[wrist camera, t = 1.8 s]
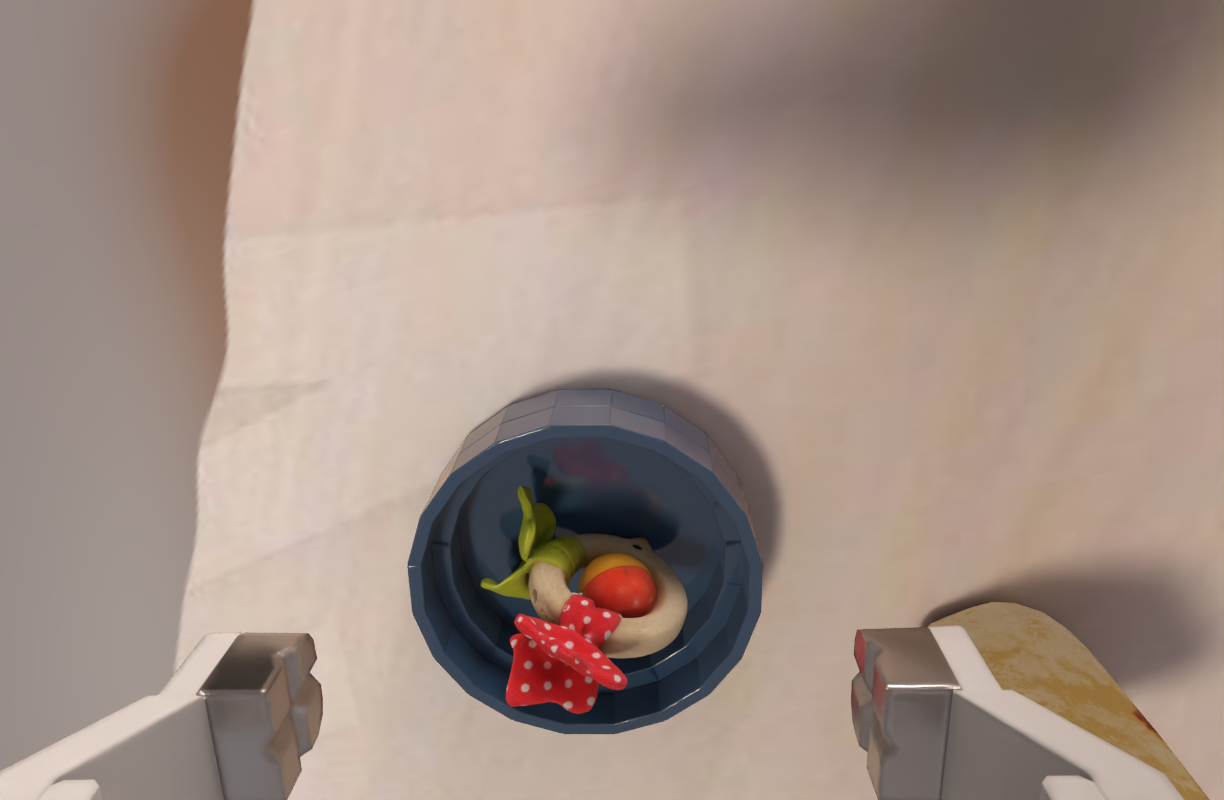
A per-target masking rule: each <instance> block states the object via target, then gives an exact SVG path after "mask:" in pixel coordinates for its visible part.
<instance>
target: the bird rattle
mask: <svg viewBox="0 0 1224 800" xmlns="http://www.w3.org/2000/svg"><path fill="white" fill-rule="evenodd" d="M518 498H519V501H520V503H521V507H522V510H523V520H522V525H521V530H520V534H519V540H518V543H519V551H520V555H521V558H522V559H523V560H522V562H521V564H520V566H519V568H518V569H517V570H516V571H515V572H514V573H513V574H512V575H510V576H509V577H508V578H506V579H505V580H504V581H502V582H501V583H500V584H499V583H497V582H495V581H494V580H492V579H490V578H484V579H482V581H481V587H483V588H485V589H488V590H491V591H493V592H496V593H498V594H501V595H504V596H508V597H517V598H524V599H528V600H531V602H532V604H533V606H534V609H535V611H536V612H537V614H538V616H539V617H540V619H538V618H534V617H530V616H526V615H524V614H519V615H517V617H516V618H515V620H514V624H515V626H516V627H517V629H518V630H519V631H520V632H521V633H520V634H516V635H514V636H512V637H511V638H510V645H511V646H512V648H513V651H514V655H513V663H512V668H511V673H510V677H509V680H508V685H507V689H506V701H507V703H508V705H509V706H511V707H516V706H527V705H533V704H541V703H546V702H553V703H557V704H559V705H561V706H563V707H564V708H565V709H566V710H568V711H570V712H572V713H575V714H581V713H585V712H588V711H589V710H591V708H592V707H593V705H594V703H595V701H596V698H597V694H598V687H599V683H600V684H601V685H603V686H605V687H607V688H610V689H613V690H622V689H624V688H625V687H626V685H627V678H626V676H625V675H624V674H623V673H622V672H621V670H620V669H619V668H618V667H617V666H615V665H614V664H613V663H612V661H611V660H610V659H609V658H635V657H641V656H646V655H649V654H652V653H655V652H657V651H659V650H661V649H663V648H664V647H666V646H667V645H669V644H670V643H671V642H672V641H673V640H674V639H675V638H676V637H677V635H678V634H679V632H680V630H681V628H682V626H683V624H684V621H685V618H686V615H687V608H688V601H687V596H686V592H685V589H684V587H683V585H682V583H681V581H680V579H679V578H678V576H677V575H676V573H675V572H674V571H673V569H672V568H671V567H670V566H669V565H668V564H667V563H666V562H665V561H664V560H663V559H662V558H660V557H659V556H658V555H656V554H655V553H654V552H653V550H652V548H651V546H650V543H649V542H648V540H647V539H646V538H641V537H638V538H632V539H627V538H622V537H619V536H613V535H607V534H577V535H572V536H566V535H562V536H559V537H557V538H556V539H552V537H553V536H554V532H555V527H556V518H555V516H554V513H553V512H552V510H551V509H550V508H549V507H548V506H547V505H546V504H544V503H535V504H534V503H533V495H532V490H531V488H530V487H526V486H519V488H518ZM580 569H584V571H583V573H582V575H581V577H580V581H579V585H578V593H571V592H570V590H569V589H568V588H567V586H568V585H569V583H570V580H571V578H572V577H573V576H574V574H575V573H576V572H578V571H579V570H580ZM608 657H609V658H608Z"/></svg>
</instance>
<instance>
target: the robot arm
mask: <svg viewBox="0 0 1224 800" xmlns="http://www.w3.org/2000/svg"><path fill="white" fill-rule="evenodd" d="M854 656H855V659H856V662H857V664H858V667H859V670H860V672H859V673H858V674H857V675H856V676H855V677H854V679H853V680H852V692H851V705H852V720H853V724H854V729H855V734H856V737H857V740H858V743H859V746H860V747H862V748H863V749H864V750H866V751H867V752H868V756H867V770H868V773H869V775H870V778H871V781H872V784H873V787H874V790H875V793H876V795H877V798H878V800H1184V799H1183V797H1182V796H1181V795H1180V794H1179V792H1178V791H1177V790H1176V788H1175V787H1174V786H1173V784H1172V783H1171V782H1170V781H1169V779H1168V778H1167V777H1166V775H1165V774H1164V773H1162V772H1160V771H1159V770H1157V769H1155V768H1153V767H1151V766H1150V765H1148V764H1146V763H1144V762H1142V761H1140V760H1139V759H1137V758H1135V757H1133V756H1131V755H1130V754H1128V753H1126V752H1124V751H1122V750H1120V749H1119V748H1117V747H1115V746H1113V745H1111V744H1110V743H1108V742H1106V741H1104V740H1102V739H1100V738H1099V737H1097V736H1095V735H1093V734H1091V733H1090V732H1088V731H1086V730H1084V729H1082V728H1081V727H1079V726H1077V725H1075V724H1073V723H1071V722H1070V721H1068V720H1066V719H1064V718H1062V717H1061V716H1059V715H1057V714H1055V713H1053V712H1051V711H1050V710H1048V709H1046V708H1044V707H1042V706H1041V705H1039V704H1037V703H1035V702H1033V701H1032V700H1030V699H1028V698H1026V697H1024V696H1022V695H1021V694H1019V693H1017V692H1015V691H1013V690H1002V689H1001V687H1000V685H999V684H998V682H997V680H996V679H995V677H994V676H993V674H992V672H991V671H990V669H989V668H988V666H987V664H986V663H985V661H984V660H983V658H982V656H981V655H980V653H979V652H978V650H977V648H976V647H975V645H974V643H973V642H972V640H971V639H970V637H969V635H968V634H967V632H966V631H965V629H964V628H962V627H961V626H938V627H920V628H890V629H861V630H857V633H856V637H855V645H854ZM316 659H317V656H316V651H315V645H314V640H313V638H312V637H311V636H310V635H309V634H308V633H241V632H229V633H211V634H207V635H205V636H204V637H203V638H202V640H201V641H200V642H199V643H198V645H197V646H196V647H195V649H194V650H193V651H192V652H191V654H190V655H189V656H188V657H187V659H186V660H185V661H184V663H183V664H182V665H181V666H180V668H179V669H178V670H177V671H176V673H175V674H174V675H173V676H172V678H171V679H170V680H169V682H168V683H167V684H166V685H165V687H164V688H163V689H162V690H161V692H160V693H159V694H158V696H146V697H144V698H142V699H140V700H138V701H136V702H134V703H133V704H130V705H129V706H127V707H125V708H123V709H121V710H119V711H117V712H115V713H113V714H111V715H109V716H107V717H105V718H103V719H101V720H99V721H97V722H96V723H94V724H91V725H90V726H87V727H86V728H84V729H82V730H80V731H78V732H76V733H74V734H72V735H70V736H68V737H66V738H64V739H62V740H60V741H58V742H56V743H54V744H52V745H50V746H48V747H46V748H45V749H43V750H41V751H39V752H37V753H35V754H33V755H31V756H29V757H27V758H25V759H23V760H21V761H19V762H17V763H15V764H14V765H11V766H9V767H7V768H5V769H3V770H1V771H0V800H287V799H288V797H289V795H290V793H291V791H292V789H293V787H294V785H295V783H296V781H297V779H298V777H299V775H300V773H301V771H302V768H301V762H300V757H301V756H302V755H303V754H305V753H306V752H308V751H309V750H311V749H312V748H313V746H314V743H315V741H316V739H317V737H318V735H319V730H320V725H321V720H322V715H323V697H322V690H321V684H320V683H319V682H318V681H317V680H316V679H315V678H314V677H313V676H312V674H311V673H310V671H311V669H312V667H313V665H314V663H315V661H316Z"/></svg>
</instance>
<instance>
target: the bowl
mask: <svg viewBox="0 0 1224 800" xmlns="http://www.w3.org/2000/svg"><path fill="white" fill-rule="evenodd" d="M519 486H526V487H530V488H531V490H532V495H533V503H534V504H535V503H544V504H546V505H547V506H548V507H549V508H550V509H551V510H552V512H553V513H554V516H555V518H556V527H555V532H554V536H553V537H552V539H556V538H557V537H559V536H562V535H566V536H572V535H577V534H607V535H613V536H619V537H622V538H627V539H632V538H638V537H641V538H646V539H647V540H648V542H649V543H650V546H651V548H652V550H653V552H654V553H655V554H656V555H658V556H659V557H660V558H662V559H663V560H664V561H665V562H666V563H667V564H668V565H669V566H670V567H671V568H672V569H673V571H674V572H675V573H676V575H677V576H678V578H679V579H680V581H681V583H682V585H683V587H684V589H685V592H686V596H687V601H688V608H687V615H686V618H685V621H684V624H683V626H682V628H681V630H680V632H679V634H678V635H677V637H676V638H675V639H674V640H673V641H672V642H671V643H670V644H669V645H667V646H666V647H664V648H663V649H661V650H659V651H657V652H655V653H652V654H649V655H646V656H641V657H635V658H609V657H608V658H609V659H610V660H611V661H612V663H613V664H614V665H615V666H617V667H618V668H619V669H620V670H621V672H622V673H623V674H624V675H625V676H626V678H627V685H626V687H625V688H624V689H622V690H613V689H610V688H607V687H605V686H603V685H601V684H600V683H599V687H598V694H597V698H596V701H595V703H594V705H593V707H592V708H591V710H589V711H588V712H585V713H581V714H575V713H572V712H570V711H568V710H566V709H565V708H564V707H563V706H561V705H559V704H557V703H553V702H546V703H541V704H533V705H527V706H516V707H511V706H509V705H508V703H507V701H506V689H507V685H508V680H509V677H510V673H511V668H512V663H513V655H514V651H513V648H512V646H511V645H510V638H511V637H512V636H514V635H516V634H520V633H521V632H520V631H519V630H518V629H517V627H516V626H515V624H514V620H515V618H516V617H517V615H519V614H524V615H526V616H530V617H534V618H538V619H540V617H539V616H538V614H537V612H536V611H535V609H534V606H533V604H532V602H531V600H528V599H524V598H517V597H508V596H504V595H501V594H498V593H496V592H493V591H491V590H488V589H485V588H483V587H481V581H482V579H484V578H490V579H492V580H494V581H495V582H497V583H499V584H500V583H501V582H502V581H504V580H505V579H506V578H508V577H509V576H510V575H512V574H513V573H514V572H515V571H516V570H517V569H518V568H519V566H520V564H521V562H522V560H523V559H522V558H521V555H520V551H519V543H518V540H519V534H520V530H521V525H522V520H523V510H522V507H521V503H520V501H519V498H518V488H519ZM583 571H584V569H580V570H579V571H578V572H576V573H575V574H574V576H573V577H572V578H571V580H570V583H569V585H568V586H567V588H568V589H569V590H570V592H571V593H578V585H579V581H580V577H581V575H582V573H583ZM408 576H409V585H410V595H411V605H412V613H413V616H414V618H415V620H416V622H417V624H418V626H419V628H420V630H421V632H422V634H423V637H424V639H425V641H426V643H427V645H428V647H429V649H430V651H431V653H432V655H433V657H434V659H435V660H436V661H437V662H438V663H439V664H440V665H441V666H442V667H443V668H444V669H445V670H446V671H447V673H448V674H449V675H450V676H451V677H452V678H453V679H454V680H455V681H456V682H457V683H458V684H459V685H460V686H461V687H462V688H463V689H464V690H465V692H466V693H467V694H469V695H470V696H472V697H473V698H475V699H477V700H479V701H480V702H482V703H484V704H486V705H487V706H489V707H491V708H492V709H494V710H496V711H498V712H499V713H501V714H503V715H504V716H506V717H508V718H510V719H511V720H514V721H517V722H521V723H524V724H528V725H532V726H536V727H539V728H543V729H547V730H551V731H554V732H558V733H564V734H615V733H616V734H617V733H621V732H625V731H629V730H633V729H636V728H640V727H644V726H648V725H651V724H655V723H659V722H663V721H665V720H668V719H669V718H671V717H673V716H674V715H676V714H678V713H679V712H681V711H683V710H684V709H686V708H688V707H689V706H691V705H693V704H694V703H696V702H698V701H699V700H701V699H703V698H705V697H706V696H708V694H710V693H711V692H712V691H713V690H714V689H715V688H716V687H717V686H718V684H719V683H720V682H721V681H722V680H723V679H724V678H725V677H726V675H727V674H728V673H729V672H730V671H731V670H732V669H733V668H734V667H735V665H736V664H737V663H738V662H739V661H740V660H741V658H742V657H743V654H744V652H745V650H746V647H747V645H748V642H749V640H750V638H751V635H752V633H753V630H754V628H755V626H756V623H757V621H758V619H759V616H760V613H761V600H762V576H763V563H762V558H761V554H760V551H759V547H758V543H757V539H756V535H755V531H754V527H753V523H752V519H751V515H750V512H749V509H748V506H747V503H746V500H745V497H744V494H743V491H742V488H741V485H740V481H739V478H738V475H737V473H736V471H735V470H734V469H733V467H732V466H731V465H730V463H729V462H728V461H727V459H726V458H725V457H724V456H723V454H722V453H721V452H720V450H719V449H718V448H717V446H716V445H715V444H714V443H713V441H712V440H711V439H710V437H709V436H708V435H707V434H705V432H703V431H702V430H700V429H699V428H697V427H696V426H694V425H693V424H691V423H690V422H688V421H687V420H686V419H684V418H683V417H681V416H680V415H678V414H677V413H675V412H674V411H672V410H671V409H669V408H668V407H666V406H663V404H660V403H657V402H653V401H650V400H647V399H643V398H640V397H637V396H633V395H630V394H627V393H623V392H620V391H616V390H611V389H588V390H556V391H553V392H550V393H546V394H543V395H540V396H537V397H534V398H531V399H528V400H525V401H521V402H518V403H515V404H512V405H510V406H507V407H506V408H505V409H503V410H502V411H500V412H499V413H498V414H496V415H495V416H494V417H492V418H491V419H489V420H488V421H487V422H485V423H484V424H482V425H481V426H480V427H478V428H477V429H476V430H474V431H473V432H471V433H470V434H469V435H468V436H467V437H466V438H465V440H464V441H463V443H462V444H461V446H460V447H459V448H458V450H457V451H456V453H455V454H454V456H453V457H452V458H451V460H450V461H449V463H448V464H447V466H446V467H445V468H444V470H443V471H442V473H441V475H440V477H439V479H438V481H437V483H436V485H435V487H434V489H433V491H432V493H431V495H430V497H429V500H428V502H427V504H426V506H425V508H424V510H423V512H422V514H421V516H420V518H419V522H418V526H417V530H416V534H415V538H414V541H413V545H412V549H411V553H410V557H409V560H408Z"/></svg>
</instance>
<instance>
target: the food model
mask: <svg viewBox="0 0 1224 800" xmlns="http://www.w3.org/2000/svg"><path fill="white" fill-rule="evenodd" d="M938 626H961V627H962V628H964V629H965V631H966V632H967V634H968V635H969V637H970V639H971V640H972V642H973V643H974V645H975V647H976V648H977V650H978V652H979V653H980V655H981V656H982V658H983V660H984V661H985V663H986V664H987V666H988V668H989V669H990V671H991V672H992V674H993V676H994V677H995V679H996V680H997V682H998V684H999V685H1000V687H1001V689H1002V690H1013V691H1015V692H1017V693H1019V694H1021V695H1022V696H1024V697H1026V698H1028V699H1030V700H1032V701H1033V702H1035V703H1037V704H1039V705H1041V706H1042V707H1044V708H1046V709H1048V710H1050V711H1051V712H1053V713H1055V714H1057V715H1059V716H1061V717H1062V718H1064V719H1066V720H1068V721H1070V722H1071V723H1073V724H1075V725H1077V726H1079V727H1081V728H1082V729H1084V730H1086V731H1088V732H1090V733H1091V734H1093V735H1095V736H1097V737H1099V738H1100V739H1102V740H1104V741H1106V742H1108V743H1110V744H1111V745H1113V746H1115V747H1117V748H1119V749H1120V750H1122V751H1124V752H1126V753H1128V754H1130V755H1131V756H1133V757H1135V758H1137V759H1139V760H1140V761H1142V762H1144V763H1146V764H1148V765H1150V766H1151V767H1153V768H1155V769H1157V770H1159V771H1160V772H1162V773H1164V774H1165V775H1166V777H1167V778H1168V779H1169V781H1170V782H1171V783H1172V784H1173V786H1174V787H1175V788H1176V790H1177V791H1178V792H1179V794H1180V795H1181V796H1182V797H1183V799H1184V800H1209V799H1208V797H1207V796H1206V795H1205V793H1204V792H1203V791H1202V789H1201V788H1200V787H1199V786H1198V784H1197V783H1196V782H1195V780H1194V779H1193V778H1192V776H1191V775H1190V774H1189V773H1188V771H1187V770H1186V769H1185V767H1184V766H1183V765H1182V764H1181V762H1180V761H1179V760H1178V758H1177V757H1176V756H1175V755H1174V753H1173V752H1172V751H1171V749H1170V748H1169V747H1168V746H1167V744H1166V743H1165V742H1164V741H1163V739H1162V738H1161V737H1160V736H1159V734H1158V733H1157V732H1156V730H1155V729H1154V728H1153V727H1152V726H1151V724H1150V723H1149V722H1148V721H1147V720H1146V718H1145V717H1144V716H1143V715H1142V714H1141V713H1140V711H1139V710H1138V709H1137V708H1136V707H1135V705H1134V704H1133V703H1132V702H1131V700H1130V699H1129V698H1128V697H1127V696H1126V694H1125V693H1124V692H1123V691H1122V689H1121V688H1120V687H1119V686H1118V684H1117V683H1116V682H1115V681H1114V679H1113V678H1112V677H1111V676H1110V674H1109V673H1108V672H1107V671H1106V670H1105V668H1104V667H1103V666H1102V665H1101V664H1100V663H1099V661H1098V660H1097V659H1096V658H1095V657H1094V656H1093V654H1092V653H1091V652H1090V651H1089V650H1088V649H1087V648H1086V647H1085V646H1084V645H1083V644H1082V643H1081V642H1080V641H1079V640H1078V639H1077V638H1076V637H1075V636H1074V635H1073V634H1072V633H1071V632H1070V631H1069V630H1068V629H1067V628H1065V627H1064V626H1062V625H1061V624H1060V623H1058V622H1057V621H1055V620H1054V619H1052V618H1051V617H1049V616H1048V615H1047V614H1045V613H1044V612H1041V611H1038V610H1035V609H1032V608H1029V607H1026V606H1023V605H1020V604H1017V603H1005V602H990V603H986V604H982V605H978V606H975V607H971V608H968V609H966V610H963V611H960V612H957V613H955V614H952V615H950V616H947V617H945V618H942V619H940V620H938V621H936V622H933V623H931V624H930V625H929V626H928V627H938Z"/></svg>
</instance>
